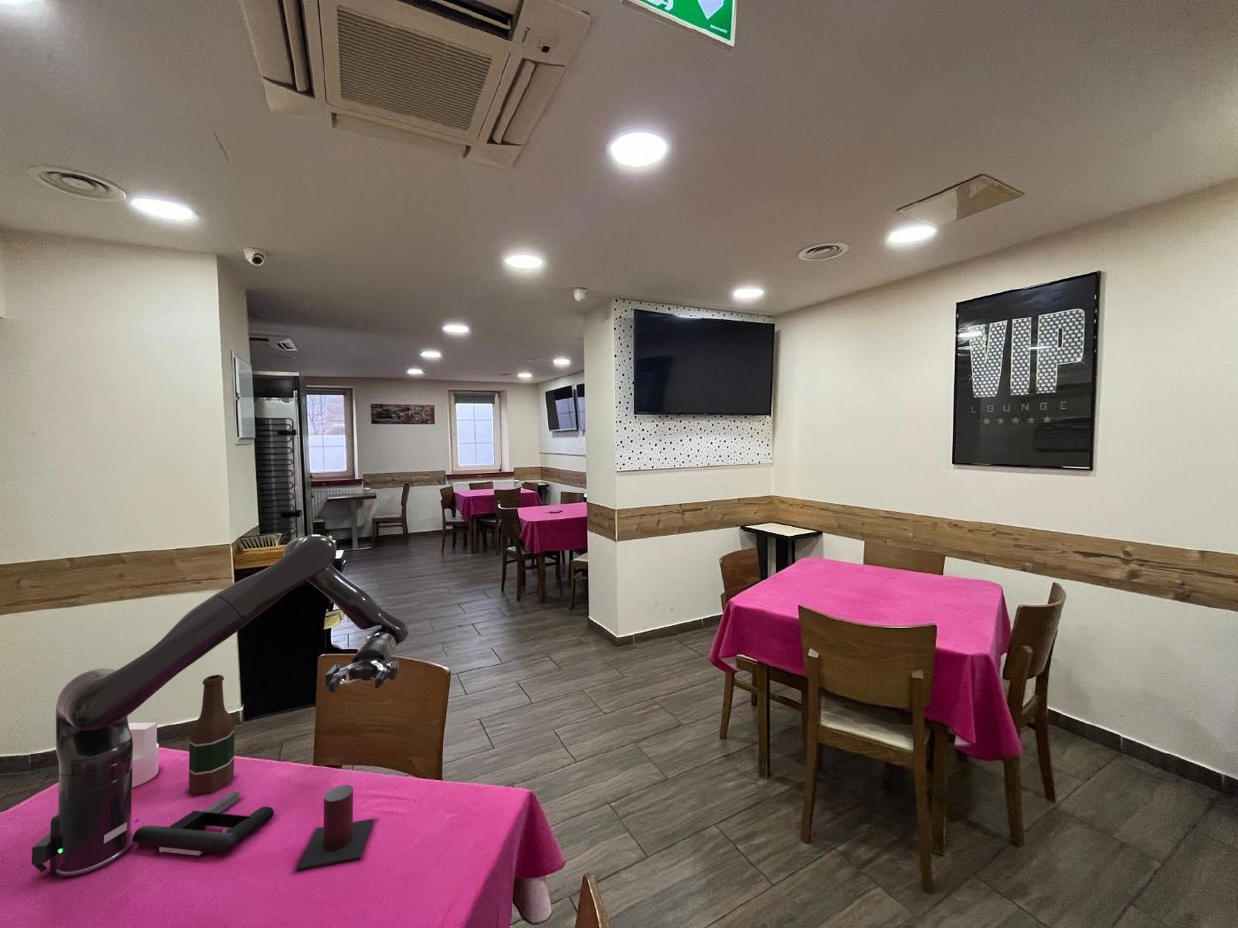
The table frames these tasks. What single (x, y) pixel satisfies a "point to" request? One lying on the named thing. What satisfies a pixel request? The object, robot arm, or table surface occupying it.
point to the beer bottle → (211, 742)
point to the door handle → (194, 841)
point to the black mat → (322, 857)
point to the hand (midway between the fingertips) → (355, 685)
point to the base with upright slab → (144, 752)
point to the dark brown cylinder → (338, 817)
